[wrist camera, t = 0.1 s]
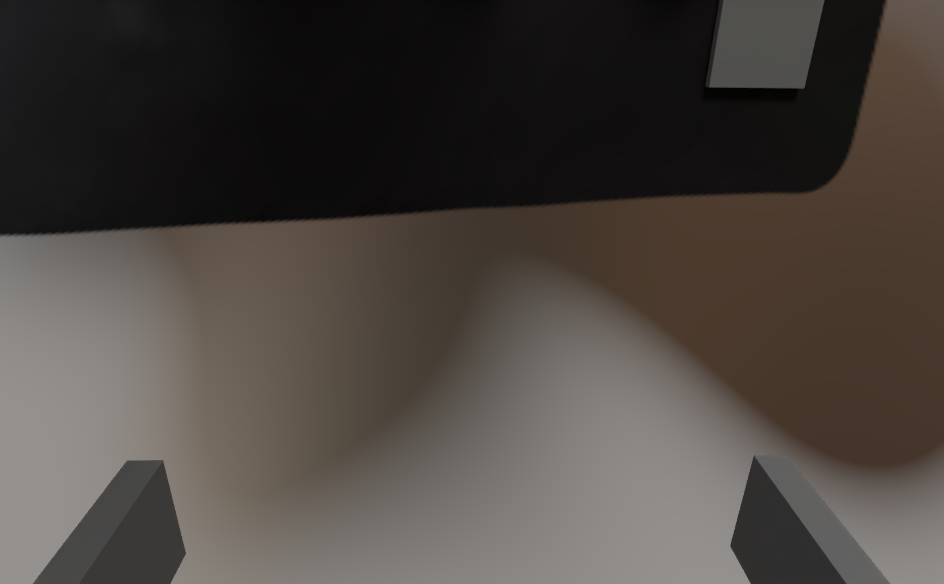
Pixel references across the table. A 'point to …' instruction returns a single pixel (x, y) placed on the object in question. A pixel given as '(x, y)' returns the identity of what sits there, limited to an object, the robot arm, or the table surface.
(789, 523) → the robot arm
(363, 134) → the table surface
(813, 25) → the mat
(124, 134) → the table surface
